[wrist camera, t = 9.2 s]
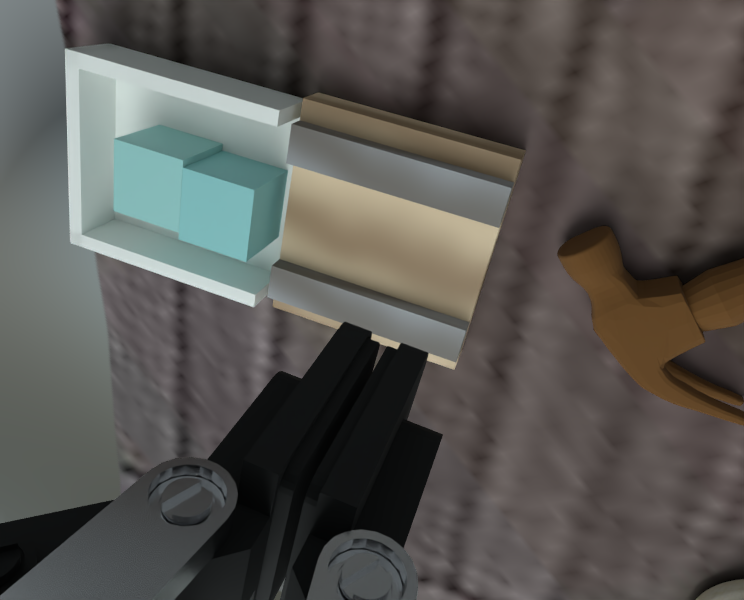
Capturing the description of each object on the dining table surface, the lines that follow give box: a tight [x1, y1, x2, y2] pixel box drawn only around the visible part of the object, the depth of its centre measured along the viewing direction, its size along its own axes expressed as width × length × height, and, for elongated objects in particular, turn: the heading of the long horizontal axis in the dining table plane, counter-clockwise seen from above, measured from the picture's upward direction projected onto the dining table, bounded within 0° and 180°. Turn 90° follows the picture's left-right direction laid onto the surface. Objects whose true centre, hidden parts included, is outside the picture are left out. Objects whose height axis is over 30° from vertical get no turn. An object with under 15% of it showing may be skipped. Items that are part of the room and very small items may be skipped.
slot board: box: [267, 92, 526, 370], centre depth 34 cm, size 12×11×3 cm
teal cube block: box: [179, 150, 288, 262], centre depth 35 cm, size 4×4×4 cm
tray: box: [65, 43, 303, 307], centre depth 36 cm, size 11×12×4 cm
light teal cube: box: [113, 125, 223, 233], centre depth 36 cm, size 4×4×4 cm
